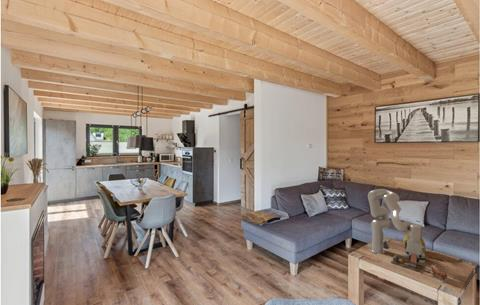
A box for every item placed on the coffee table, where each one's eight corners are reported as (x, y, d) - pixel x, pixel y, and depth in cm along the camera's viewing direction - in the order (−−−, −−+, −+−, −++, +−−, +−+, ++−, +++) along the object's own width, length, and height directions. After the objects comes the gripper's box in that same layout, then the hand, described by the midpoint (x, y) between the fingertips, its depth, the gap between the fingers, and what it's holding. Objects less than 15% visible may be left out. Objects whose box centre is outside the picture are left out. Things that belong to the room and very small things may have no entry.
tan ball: (397, 263, 206) (398, 259, 206) (399, 261, 209) (399, 257, 208) (402, 264, 203) (402, 260, 203) (403, 263, 206) (404, 259, 206)
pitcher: (401, 251, 228) (403, 226, 227) (403, 246, 242) (405, 221, 241) (423, 258, 217) (426, 231, 216) (425, 251, 231) (427, 226, 230)
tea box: (425, 264, 206) (426, 247, 205) (412, 263, 208) (412, 246, 207) (416, 255, 221) (416, 240, 220) (404, 255, 223) (404, 239, 222)
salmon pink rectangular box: (408, 267, 199) (408, 252, 198) (410, 263, 204) (411, 249, 203) (415, 269, 195) (416, 254, 194) (417, 266, 201) (418, 251, 200)
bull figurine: (432, 273, 193) (432, 263, 192) (448, 283, 179) (448, 272, 179) (427, 273, 192) (427, 263, 192) (443, 283, 179) (443, 273, 178)
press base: (390, 264, 206) (391, 257, 206) (394, 259, 215) (395, 252, 214) (422, 274, 190) (422, 267, 190) (425, 269, 198) (425, 262, 198)
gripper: (401, 238, 201) (401, 259, 203) (426, 244, 189) (425, 266, 190) (403, 235, 207) (403, 256, 208) (428, 241, 194) (427, 263, 195)
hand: (414, 260), depth 199 cm, fingers closed on salmon pink rectangular box, 4 cm apart
